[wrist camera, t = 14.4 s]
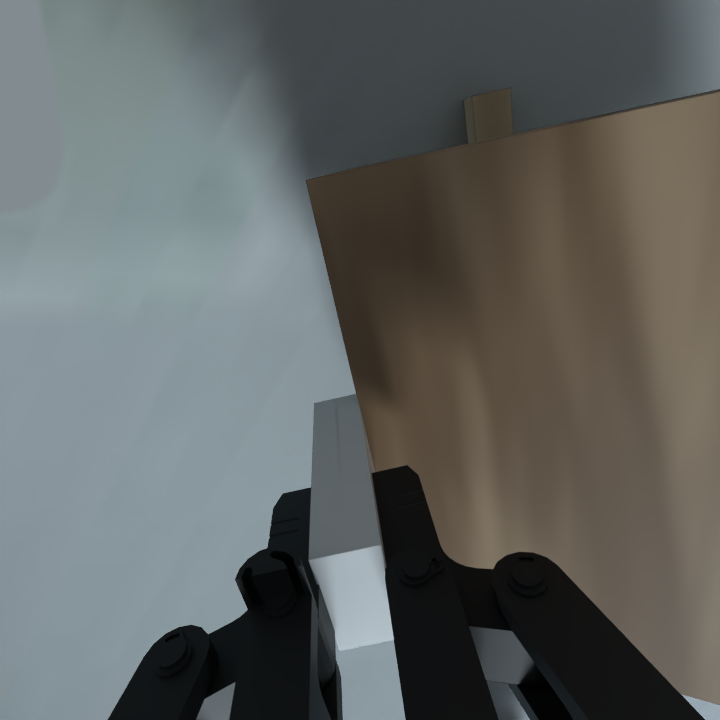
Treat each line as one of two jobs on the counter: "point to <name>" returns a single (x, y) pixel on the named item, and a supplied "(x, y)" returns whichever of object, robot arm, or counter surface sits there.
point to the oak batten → (488, 115)
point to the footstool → (553, 355)
